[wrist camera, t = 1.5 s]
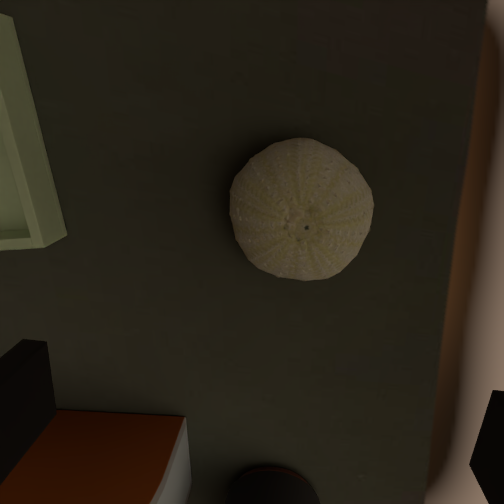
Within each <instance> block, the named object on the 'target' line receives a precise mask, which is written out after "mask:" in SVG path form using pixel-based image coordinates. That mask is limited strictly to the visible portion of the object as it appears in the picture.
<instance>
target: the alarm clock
mask: <svg viewBox="0 0 504 504" xmlns="http://www.w3.org/2000/svg"><path fill="white" fill-rule="evenodd" d="M56 412H57V414H56V415H55V417H54V418H53V419H52V421H51V422H50V423H49V424H48V426H47V427H46V428H45V429H44V431H43V432H42V433H41V434H40V436H39V437H38V438H37V440H36V441H35V442H34V443H33V445H32V446H31V447H30V448H29V450H28V451H27V452H26V453H25V455H24V456H23V457H22V459H21V460H20V461H19V462H18V464H17V465H16V466H15V467H14V469H13V470H12V471H11V472H10V474H9V475H8V476H7V478H6V479H5V480H4V481H3V483H2V484H1V485H0V504H187V502H188V498H189V494H190V491H191V487H192V476H191V465H190V455H189V445H188V434H187V424H186V418H185V417H178V416H160V415H143V414H125V413H107V412H89V411H71V410H56Z"/></svg>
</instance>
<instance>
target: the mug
mask: <svg viewBox="0 0 504 504" xmlns="http://www.w3.org/2000/svg"><path fill="white" fill-rule="evenodd" d="M225 504H320V501H319V498H318V496H317V494H316V493H315V491H314V490H313V489H312V488H311V487H310V485H309V484H308V483H307V482H306V481H305V479H303V478H302V477H301V476H299V475H298V474H296V473H294V472H292V471H290V470H287V469H283V468H279V467H260V468H256V469H253V470H250V471H248V472H246V473H245V474H243V475H242V476H241V477H240V478H239V479H238V480H237V481H236V482H235V483H234V484H233V485H232V486H231V487H230V489H229V491H228V494H227V498H226V502H225Z"/></svg>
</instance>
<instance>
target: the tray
mask: <svg viewBox="0 0 504 504" xmlns="http://www.w3.org/2000/svg"><path fill="white" fill-rule="evenodd" d="M65 236H67V231H66V227H65V223H64V219H63V216H62V212H61V208H60V204H59V200H58V196H57V192H56V188H55V184H54V180H53V176H52V172H51V168H50V164H49V160H48V156H47V152H46V148H45V144H44V140H43V136H42V132H41V129H40V125H39V121H38V117H37V113H36V109H35V105H34V101H33V97H32V93H31V89H30V85H29V81H28V77H27V73H26V69H25V65H24V61H23V57H22V53H21V49H20V46H19V42H18V38H17V34H16V30H15V26H14V22H13V18H12V17H10V16H7V15H4V14H1V13H0V250H16V249H33V248H45V247H47V246H48V245H50V244H52V243H54V242H56V241H58V240H60V239H62V238H63V237H65Z"/></svg>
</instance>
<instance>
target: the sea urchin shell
mask: <svg viewBox="0 0 504 504" xmlns="http://www.w3.org/2000/svg"><path fill="white" fill-rule="evenodd" d="M371 193H372V190H371V189H370V188H369V186H368V184H367V183H366V181H365V180H364V178H363V176H362V175H361V173H360V172H359V169H358V168H357V167H355V165H354V164H351V163H350V162H349V161H348V160H347V159H346V158H344V156H342V154H340V153H339V152H338V151H337V150H336V149H332V148H331V147H329V146H327V145H324V144H322V143H320V142H318V141H316V140H314V139H309V138H293V139H290V140H285V141H282V142H276V143H274V144H272V145H270V146H268V147H267V148H266V149H264V150H263V151H262V152H260V153H258V154H256V155H255V156H254V157H252V158H250V159H249V162H248V163H247V164H246V165H245V166H244V167H243V169H242V170H241V171H240V172H239V173H238V174H237V175H236V176H235V178H234V181H233V184H232V187H231V189H230V212H229V215H230V216H231V221H232V225H233V229H234V234H235V240H236V241H237V242H238V243H239V245H240V247H241V248H242V250H243V252H244V254H245V255H246V257H247V259H248V260H250V261H251V263H252V264H254V265H255V266H256V267H257V268H259V269H261V270H263V271H266V272H268V273H271V274H273V275H275V276H277V277H278V278H279V277H283V278H292V279H297V280H303V281H307V280H315V279H317V280H320V279H328V278H329V277H331V276H334V275H335V274H337V273H340V272H341V270H342V269H344V268H345V267H346V266H347V265H348V264H349V263H350V261H351V260H352V259H353V258H354V257H356V256H357V254H358V252H359V250H360V247H361V245H362V243H363V241H364V239H365V237H366V236H367V234H368V232H369V231H370V225H371V219H372V214H373V208H374V203H373V198H372V194H371Z"/></svg>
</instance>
